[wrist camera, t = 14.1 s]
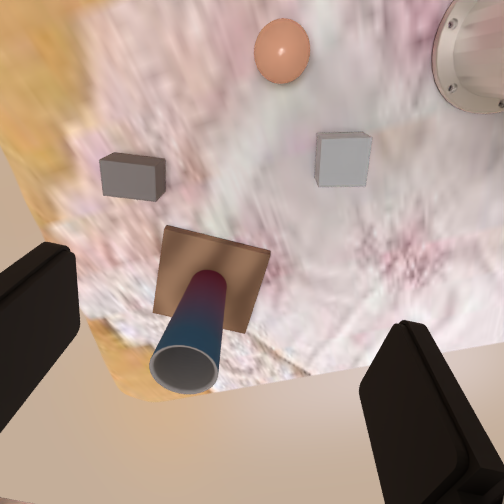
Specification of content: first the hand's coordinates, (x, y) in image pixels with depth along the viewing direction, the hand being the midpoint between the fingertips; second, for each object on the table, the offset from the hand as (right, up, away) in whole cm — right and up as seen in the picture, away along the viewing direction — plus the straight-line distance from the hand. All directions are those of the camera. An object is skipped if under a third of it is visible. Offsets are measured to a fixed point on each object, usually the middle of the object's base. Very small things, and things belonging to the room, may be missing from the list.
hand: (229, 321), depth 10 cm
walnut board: (-5, -2, +37) cm, 37 cm away
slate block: (+10, +13, +28) cm, 33 cm away
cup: (-5, -2, +36) cm, 36 cm away
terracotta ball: (+4, +22, +23) cm, 32 cm away
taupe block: (-13, +12, +30) cm, 35 cm away
